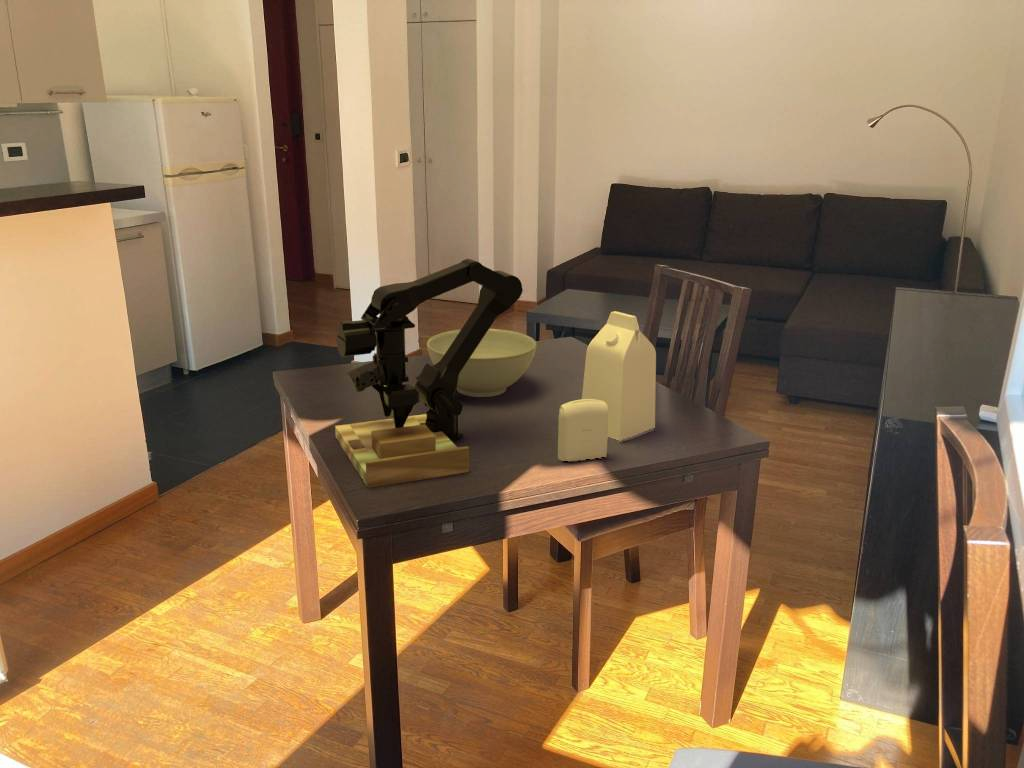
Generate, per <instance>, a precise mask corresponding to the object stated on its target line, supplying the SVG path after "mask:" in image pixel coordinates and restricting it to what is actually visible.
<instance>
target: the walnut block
mask: <svg viewBox="0 0 1024 768" xmlns="http://www.w3.org/2000/svg"><path fill="white" fill-rule="evenodd" d="M371 434H372V448H373V450H374V451H375V453H376V454H377V456H378V457H379V459H384V458H391V457H398V456H404V455H411V454H418V453H424V452H431V451H436V436H435V435H434V434H433V433H432V432H431V431H430V429H429V428H428V427H427V426H426V425H425V424H423V425H416V426H408V427H400V428H392V429H384V430H376V431H371Z"/></svg>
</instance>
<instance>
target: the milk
mask: <svg viewBox="0 0 1024 768" xmlns="http://www.w3.org/2000/svg"><path fill="white" fill-rule="evenodd" d="M584 362H585V364H584V374H583V382H582V383H583V384H582V392H581V393H582V394H581V399H595V400H600V401H604V402H605V403H606V404H607V406H608V413H609V414H608V437H610V438H613V439H616V440H619V441H621V440H623V439H626V438H628V437H632V436H634V435H637V434H639V433H642V432H644V431H647V430H649V429H652V428H655V429H656V379H657V377H656V375H657V374H656V372H657V352H656V348H655V347H654V345H653V343H651V341H650V340H649V339H648V338H647V337H646V336H645V334H643V332H641V331H640V326H639V323H638V319H637V316H636V315H633V314H632V315H631V314H628V313H626V312H625V313H624V312H621V311H616V310H614V311H611V312H610V313H609V316H608V319H607V321H606V323H605V325H604V326H603V327H602V328H601V329H600V330H599V332H598V333H597V334H596V335H595V336H594V337H593V338H592V340H591V341H590V343H589V344H588V346H587V349H586V353H585V361H584Z"/></svg>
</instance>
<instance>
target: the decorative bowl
mask: <svg viewBox="0 0 1024 768" xmlns="http://www.w3.org/2000/svg"><path fill="white" fill-rule="evenodd" d="M460 331H461V329H454V330H449V331H445V332H441V333H438V334H436V335H432V336H431V337H430V338H429V339H428V340H427V342H426V348H427V353H428V354H429V358H430V359H431V362H432V364H433V365H435V364H437V363H438V362H439V361H440V360H441V359H442V358H443V356H444V355H445V353H446V352H447V350H448V349H449V347H450V346H451V344H452V343H453V341H454V340H455V338H456V337H457V335H458V334H459V332H460ZM537 345H538V344H537V341H536V340H535V339H534V338H533V337H531V336H529V335H527V334H524V333H521V332H517V331H513V330H507V329H498V328H489V330H488V331H487V333H486V334H485V336H484V337H483V339H482V340H481V342H480V343H479V345H478V346H477V348H476V349H475V351H474V352H473V354H472V355H471V357H470V358H469V360H468V361H467V363H466V364H465V366H464V367H463V369H462V370H461V372H460V374H459V378H458V384H457V389H456V391H457V392H458V393H459V394H462V395H465V396H468V397H474V398H489V397H490V398H491V397H495V396H499V395H501V394H504V393H506V391H507V388H508V387H511V385H513V384H514V383H516V382H517V381H518V380H519V379H520V378H521V377H522V376H523V375H524V374H525V373H526V371H527V370H528V368H529V367H530V365H531V363H532V361H533V358H534V356H535V354H536V350H537Z"/></svg>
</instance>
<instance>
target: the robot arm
mask: <svg viewBox="0 0 1024 768" xmlns="http://www.w3.org/2000/svg"><path fill="white" fill-rule="evenodd" d="M473 282H474V283H475V284H478V285H479V286H481V288H480V289H479V295H478V301H477V305H476V306H475V308H474V309H473V311H472V312H471V314H470V315H469V317H468V319H467V320H466V321H465V323H464V325H463V326H462V328H460V330H461V331H460V332H459V334H458V335H457V337H456V338H455V340H454V341H453V343H452V344H451V346H450V347H449V349H448V350H447V352H446V353H445V355H444V356H443V358H442V359H441V360H440V361H439V362H438V363H437V364H435V365H434V364H433V365H431V364H430V363H426V364H425V365H424V366H423V367H422V371H421V372H420V374H419V375H418V376H416V377H415V380H417V381H416V382H415V386H413V385H412V384H410V383H408V382H409V380H410V379H409V378H410V377H409V375H408V374H407V373H406V372H407V371H406V368H407V366H406V363H409V356H407V355H406V329H407V330H408V329H413V328H415V327H416V324H415V323H413V322H412V321H411V320H410V318H409V317H408V315H409V314H411V313H413V311H415V310H416V309H417V308H418V307H419V306H420V305H421V304H422V303H424V302H426V301H428V300H430V299H433V298H435V297H437V296H441V295H442V294H445V293H448V292H450V291H453V290H454V289H455V290H456V289H458V288H461V287H462V286H465V285H467V284H470V283H473ZM522 294H523V285H522V281H521V279H519V278H518V277H517V276H515V275H513V274H510V273H507V272H505V271H502V270H492V268H489V267H486V266H485V265H483V264H482V263H481V262H479V261H478V260H477V261H476V260H474V259H471V258H465V259H463V260H462V261H460V262H458V263H455V264H453V265H452V266H451V265H450V266H449V267H446V268H443V269H441V270H438V271H436V272H432V273H431V274H428V275H426V276H423V277H421V278H418V279H415V280H413V281H409V282H399V283H397V282H396V283H391V284H386V285H382V286H379V287H378V288H376V289H375V290H373V294H372V296H371V301H370V303H369V304H368V306H367V307H366V309H365V311H364V313H363V314H362V315H361V317H360V320H359V319H358V320H352V321H349V320H342V321H341V320H340V321H339V328H337V335H336V336H335V338H336V347H337V350H338V353H339V355H340V356H341V358H346V357H354V356H362V355H368V354H369V355H370V354H372V352H374V351H376V352H374V353H373V355H372V361H370V362H368V363H365V364H363V365H360V366H358V367H356V368H353V369H351V370H349V371H348V373H347V375H348V378H349V380H350V383H351V385H352V387H353V388H354V390H355V391H356V392H357V393H361V392H364V391H365V390H366V389H367V388H370V387H371V388H373V389H374V390H375V391H376V392H377V394H378V398H379V400H380V401H379V402H380V404H381V405H380V406H381V408H382V412H383V415H384V417H386V418H387V417H390V416H391V415H392V418H393V420H394V425H395V428H400V427H403V426H404V424H405V422H406V420H407V418H408V416H410V413H411V412H412V409H413V408H414V406H415V405H417V404H418V403H420V401H422V402H423V405H424V406H425V407H427V408H428V410H427V411H426V415H427V419H426V426H427V427H428V428H429V429H430V431H431V432H433V433H436V432H443V433H444V434H445V435H446V436H447V437H448V438H449V439H450V440H451V441H452V442H453V441H456V440H459V439H462V438H463V437H464V434H463V433H460V432H459V416H460V415H461V414H462V411H463V409H464V405H463V404H462V403H461V402H460V401H459V400H458V399H457V398H455V397H454V395H455V392H456V391H457V384H458V378H459V374H460V372H461V370H462V369H463V367H464V366H465V364H466V363H467V361H468V360H469V358H470V357H471V355H472V354H473V352H474V351H475V349H476V348H477V346H478V345H479V343H480V342H481V340H482V339H483V337H484V336H485V334H486V333H487V331H488V330H489V329H491V326H492V325H493V324H494V323H495V322H496V319H497V318H498V317H499V316H501V315H502V314H504V313H506V312H507V311H508V310H510V309H511V308H512V307H513V306H514V305H515V303H517V301H518V300H519V299H520V297H522ZM403 383H404V384H403Z"/></svg>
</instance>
